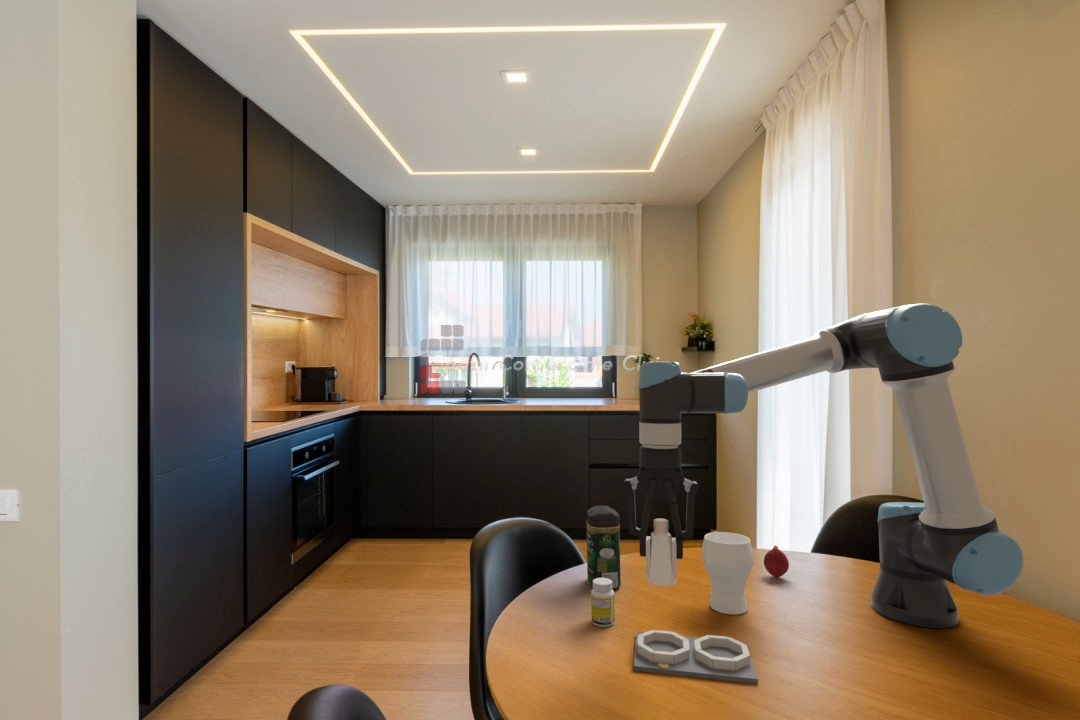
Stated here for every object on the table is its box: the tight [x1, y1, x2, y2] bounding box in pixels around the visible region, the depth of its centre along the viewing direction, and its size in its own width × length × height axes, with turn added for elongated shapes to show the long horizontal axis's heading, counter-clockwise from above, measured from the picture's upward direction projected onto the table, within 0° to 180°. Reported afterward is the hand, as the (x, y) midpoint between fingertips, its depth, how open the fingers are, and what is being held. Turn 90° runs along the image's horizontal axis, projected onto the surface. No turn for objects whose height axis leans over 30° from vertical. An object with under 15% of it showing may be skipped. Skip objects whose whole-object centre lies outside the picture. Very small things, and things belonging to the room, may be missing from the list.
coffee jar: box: [586, 505, 622, 591], centre depth 132 cm, size 10×8×19 cm
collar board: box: [633, 629, 759, 685], centre depth 96 cm, size 20×13×2 cm, turn 78°
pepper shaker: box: [646, 517, 678, 587], centre depth 98 cm, size 5×5×11 cm
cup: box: [701, 531, 754, 615], centre depth 118 cm, size 11×11×15 cm
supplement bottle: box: [590, 578, 616, 628], centre depth 111 cm, size 5×5×8 cm
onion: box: [763, 544, 790, 579], centre depth 135 cm, size 6×6×8 cm
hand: (661, 575), depth 98 cm, fingers closed on pepper shaker, 4 cm apart
